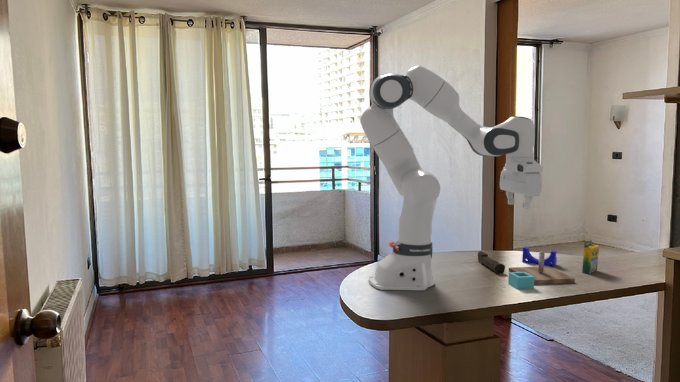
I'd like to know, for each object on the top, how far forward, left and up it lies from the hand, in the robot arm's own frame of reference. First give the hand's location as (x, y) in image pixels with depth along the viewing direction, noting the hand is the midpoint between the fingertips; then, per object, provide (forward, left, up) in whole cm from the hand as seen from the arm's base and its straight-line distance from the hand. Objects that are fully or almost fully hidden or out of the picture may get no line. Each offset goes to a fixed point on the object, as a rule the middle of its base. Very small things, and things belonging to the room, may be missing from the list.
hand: (518, 206), depth 165 cm
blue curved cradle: (+25, +24, -27) cm, 44 cm away
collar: (+1, -3, -27) cm, 27 cm away
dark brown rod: (+1, +21, -27) cm, 35 cm away
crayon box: (+37, +10, -27) cm, 47 cm away
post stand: (+14, +6, -27) cm, 31 cm away
